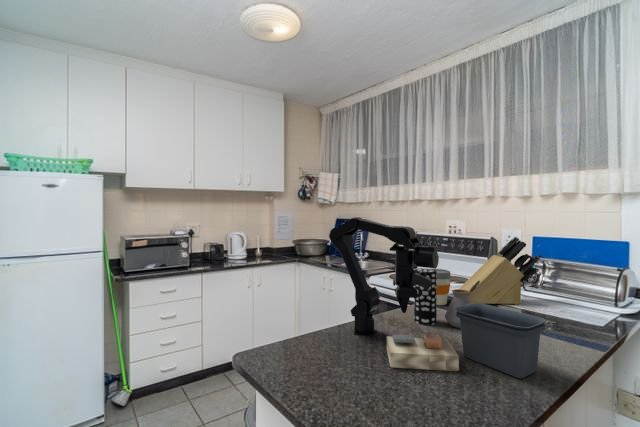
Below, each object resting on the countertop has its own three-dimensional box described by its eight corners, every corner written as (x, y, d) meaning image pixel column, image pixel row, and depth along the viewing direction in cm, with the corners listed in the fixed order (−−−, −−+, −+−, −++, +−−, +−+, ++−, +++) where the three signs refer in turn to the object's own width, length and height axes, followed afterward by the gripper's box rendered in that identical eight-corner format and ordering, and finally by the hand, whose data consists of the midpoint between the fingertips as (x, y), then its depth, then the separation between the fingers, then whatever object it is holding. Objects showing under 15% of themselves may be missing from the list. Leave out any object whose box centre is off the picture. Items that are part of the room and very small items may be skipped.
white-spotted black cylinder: (425, 326, 122) (425, 273, 122) (409, 320, 129) (409, 269, 129) (441, 323, 125) (441, 271, 125) (425, 317, 133) (425, 267, 133)
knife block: (542, 305, 150) (542, 238, 150) (464, 304, 151) (465, 237, 151) (526, 298, 161) (527, 236, 161) (455, 298, 162) (455, 236, 162)
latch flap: (394, 341, 94) (393, 338, 94) (392, 337, 100) (391, 334, 100) (415, 342, 94) (415, 339, 94) (412, 338, 100) (412, 335, 100)
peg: (426, 362, 92) (427, 339, 92) (424, 356, 96) (424, 333, 96) (441, 363, 92) (441, 339, 92) (438, 357, 96) (438, 334, 96)
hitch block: (390, 367, 90) (390, 352, 89) (386, 349, 101) (386, 336, 101) (458, 371, 87) (458, 356, 87) (446, 352, 99) (446, 339, 99)
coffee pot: (468, 333, 115) (468, 290, 115) (438, 324, 124) (438, 285, 124) (495, 320, 128) (495, 282, 128) (466, 313, 137) (466, 278, 137)
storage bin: (449, 355, 97) (449, 307, 97) (479, 344, 105) (479, 300, 105) (525, 388, 79) (525, 329, 79) (555, 371, 87) (555, 318, 87)
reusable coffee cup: (420, 298, 162) (420, 268, 162) (447, 299, 160) (447, 268, 160) (425, 305, 149) (425, 272, 149) (453, 306, 147) (453, 273, 147)
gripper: (435, 271, 96) (435, 323, 97) (425, 261, 115) (425, 305, 115) (396, 269, 98) (396, 321, 98) (393, 260, 117) (392, 304, 117)
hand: (404, 312), depth 107 cm, fingers closed
